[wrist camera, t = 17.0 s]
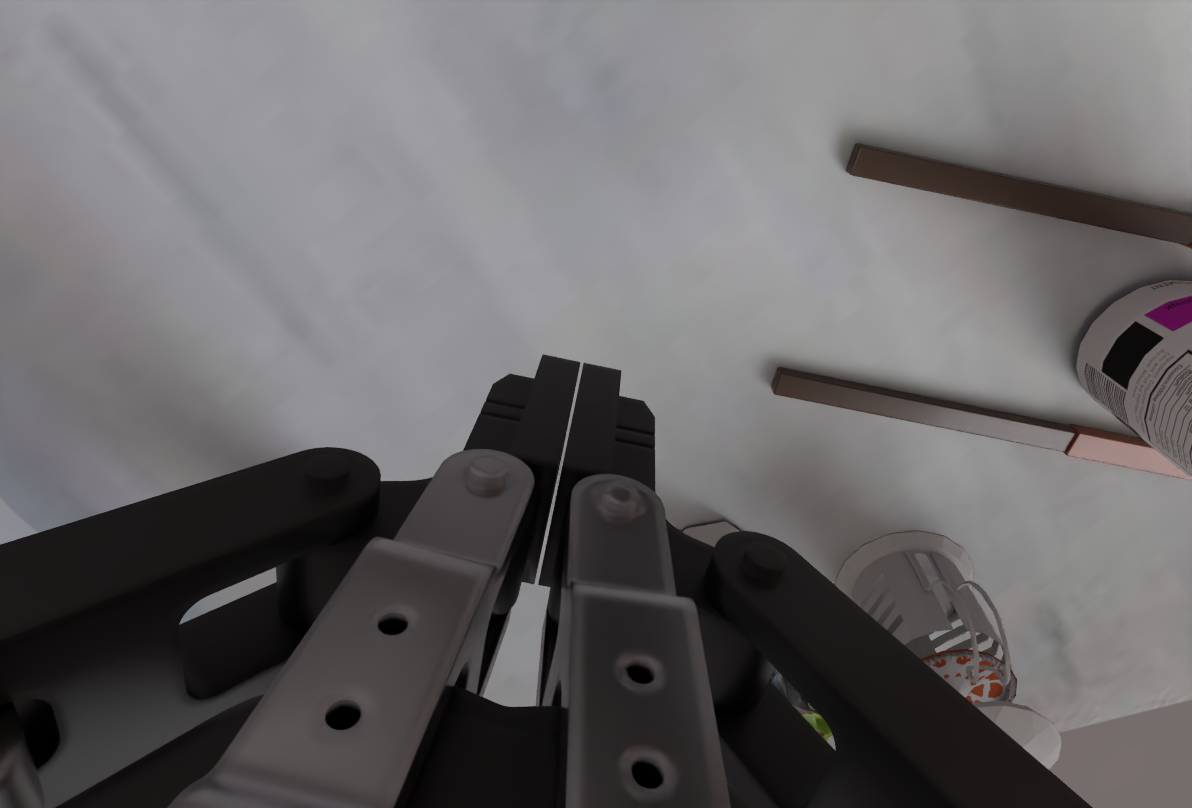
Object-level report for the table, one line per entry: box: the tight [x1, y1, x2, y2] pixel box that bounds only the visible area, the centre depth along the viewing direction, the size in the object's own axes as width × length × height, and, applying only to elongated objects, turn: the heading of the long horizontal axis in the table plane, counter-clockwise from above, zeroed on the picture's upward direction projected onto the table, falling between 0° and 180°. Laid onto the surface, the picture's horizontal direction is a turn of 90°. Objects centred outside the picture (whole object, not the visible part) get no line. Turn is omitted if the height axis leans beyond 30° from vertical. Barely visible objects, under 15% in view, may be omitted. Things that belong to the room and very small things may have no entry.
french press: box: [835, 531, 1062, 770], centre depth 39 cm, size 10×12×25 cm
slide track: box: [772, 144, 1192, 480], centre depth 41 cm, size 15×28×1 cm, turn 79°
